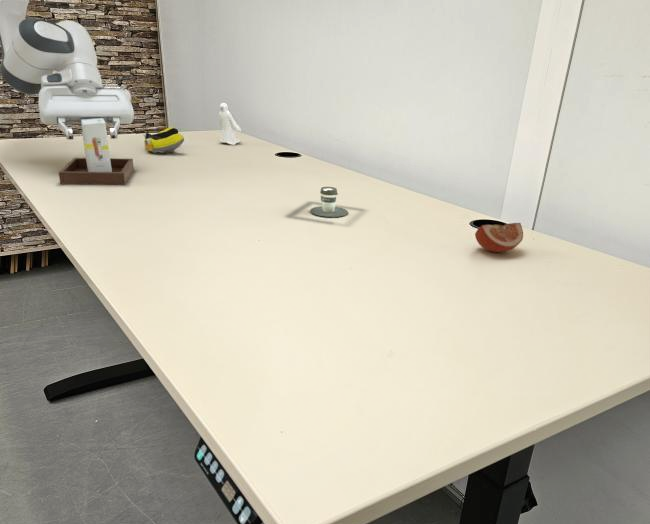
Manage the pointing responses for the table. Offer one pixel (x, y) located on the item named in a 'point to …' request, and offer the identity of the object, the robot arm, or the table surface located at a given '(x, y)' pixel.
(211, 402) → the table surface
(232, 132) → the figurine
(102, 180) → the tray
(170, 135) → the yellow rounded piece
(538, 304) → the table surface
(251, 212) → the table surface
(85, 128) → the ink box
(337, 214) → the coffee cup
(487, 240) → the fruit slice
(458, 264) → the table surface
